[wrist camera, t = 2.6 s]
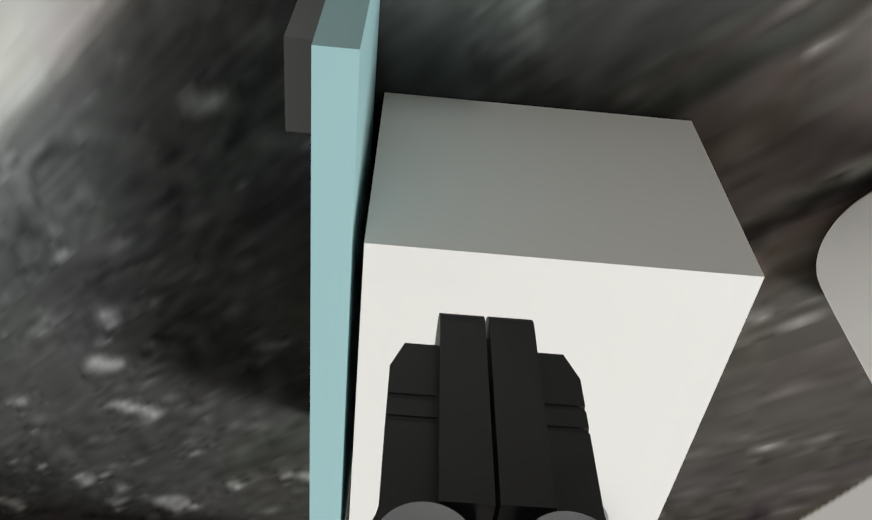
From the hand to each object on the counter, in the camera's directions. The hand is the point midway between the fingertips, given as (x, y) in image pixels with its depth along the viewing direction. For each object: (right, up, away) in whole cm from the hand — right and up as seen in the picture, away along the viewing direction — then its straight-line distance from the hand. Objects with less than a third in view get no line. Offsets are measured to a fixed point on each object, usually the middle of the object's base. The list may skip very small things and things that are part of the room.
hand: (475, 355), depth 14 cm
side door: (-4, +3, +16) cm, 17 cm away
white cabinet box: (+2, 0, +18) cm, 18 cm away
